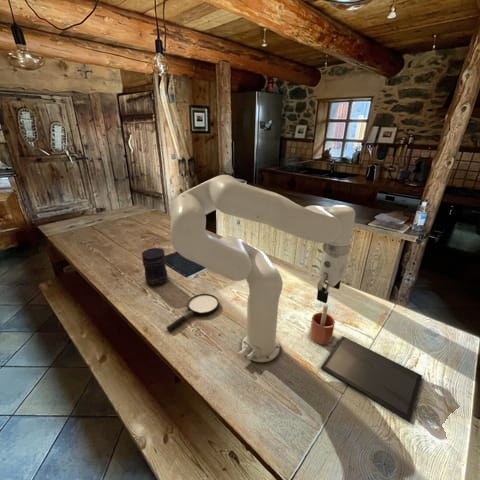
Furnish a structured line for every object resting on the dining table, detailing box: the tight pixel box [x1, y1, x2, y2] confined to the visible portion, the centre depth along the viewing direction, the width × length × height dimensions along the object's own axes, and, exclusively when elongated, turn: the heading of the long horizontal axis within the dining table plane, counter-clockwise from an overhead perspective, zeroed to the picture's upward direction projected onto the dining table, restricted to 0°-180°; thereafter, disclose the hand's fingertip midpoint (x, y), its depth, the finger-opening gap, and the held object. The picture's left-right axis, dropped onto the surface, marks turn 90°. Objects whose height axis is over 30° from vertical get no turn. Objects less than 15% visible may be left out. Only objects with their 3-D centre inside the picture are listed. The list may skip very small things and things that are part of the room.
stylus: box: [320, 303, 329, 326], centre depth 91 cm, size 1×1×13 cm
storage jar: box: [141, 247, 168, 288], centre depth 122 cm, size 10×10×15 cm
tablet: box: [320, 335, 423, 422], centre depth 80 cm, size 17×24×1 cm
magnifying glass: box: [166, 293, 220, 333], centre depth 104 cm, size 12×24×2 cm, turn 143°
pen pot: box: [309, 312, 336, 345], centre depth 92 cm, size 7×8×8 cm
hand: (328, 294), depth 87 cm, fingers open, 9 cm apart
